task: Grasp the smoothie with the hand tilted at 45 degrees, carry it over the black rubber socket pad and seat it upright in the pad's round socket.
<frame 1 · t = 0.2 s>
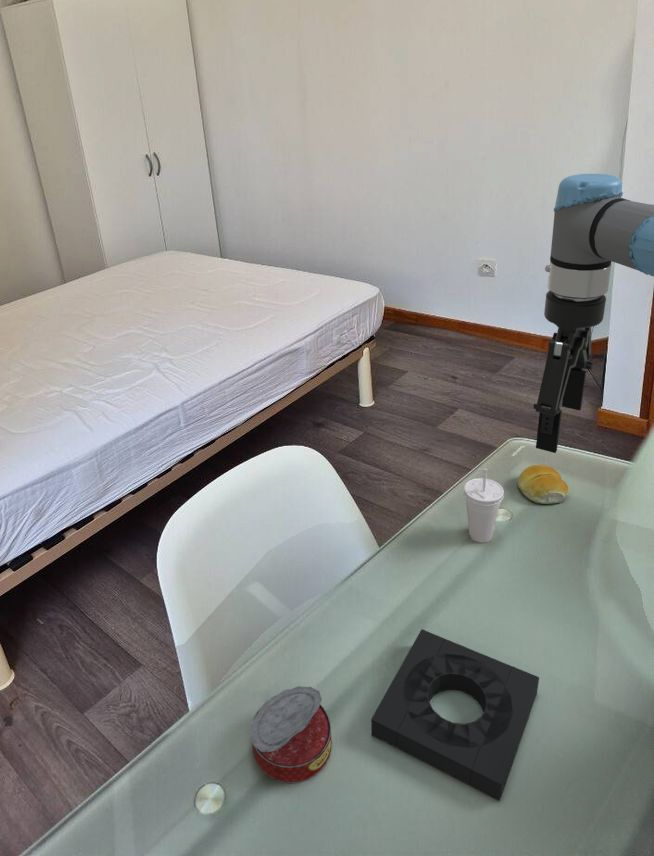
hand: (559, 427, 102), 24 cm above the table, tool pointing down, fingers open, 13 cm apart
bread roll: (542, 491, 126), on the table
socket pad: (455, 713, 88), on the table
canned food: (291, 745, 86), on the table
smoothie: (480, 536, 117), on the table
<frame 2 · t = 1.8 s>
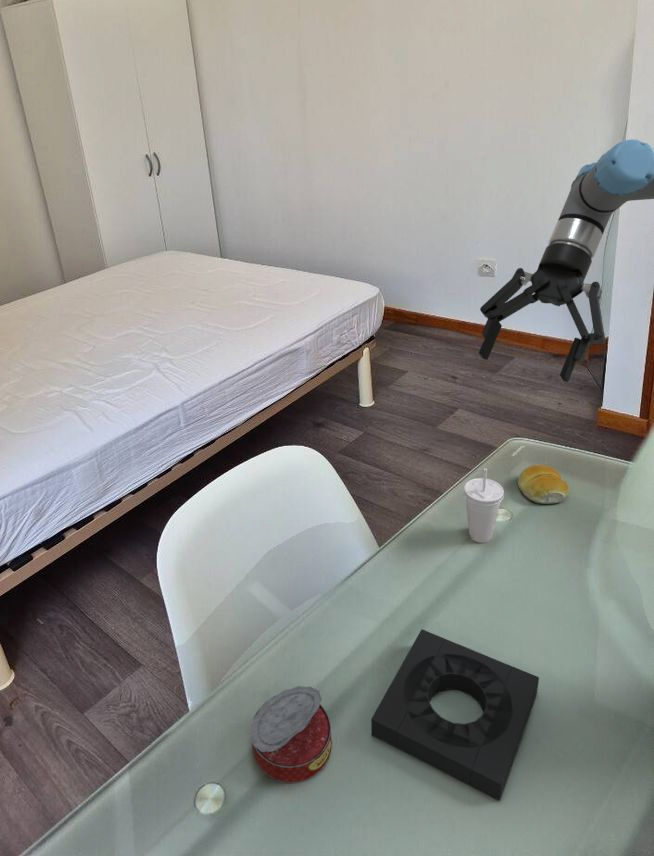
hand: (521, 367, 111), 28 cm above the table, tool tilted 45°, fingers open, 13 cm apart
nothing on the table moved.
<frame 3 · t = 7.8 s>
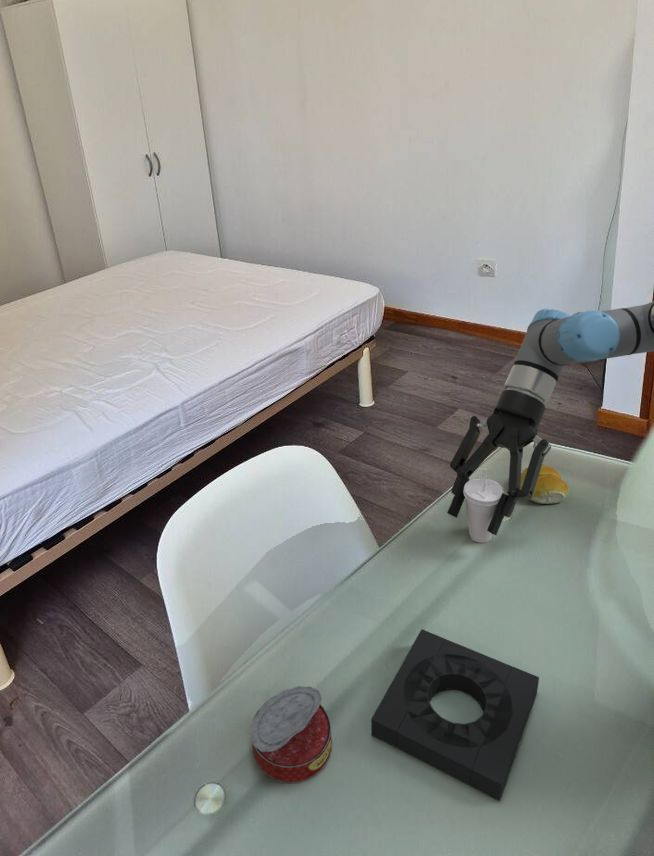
hand: (471, 523, 112), 5 cm above the table, tool tilted 45°, fingers closed on smoothie, 6 cm apart
smoothie: (480, 536, 117), on the table, touching gripper
everything else where it was.
when the fingers open (5 cm above the table, at t = 19.7 s): smoothie stays where it is, resting in socket pad.
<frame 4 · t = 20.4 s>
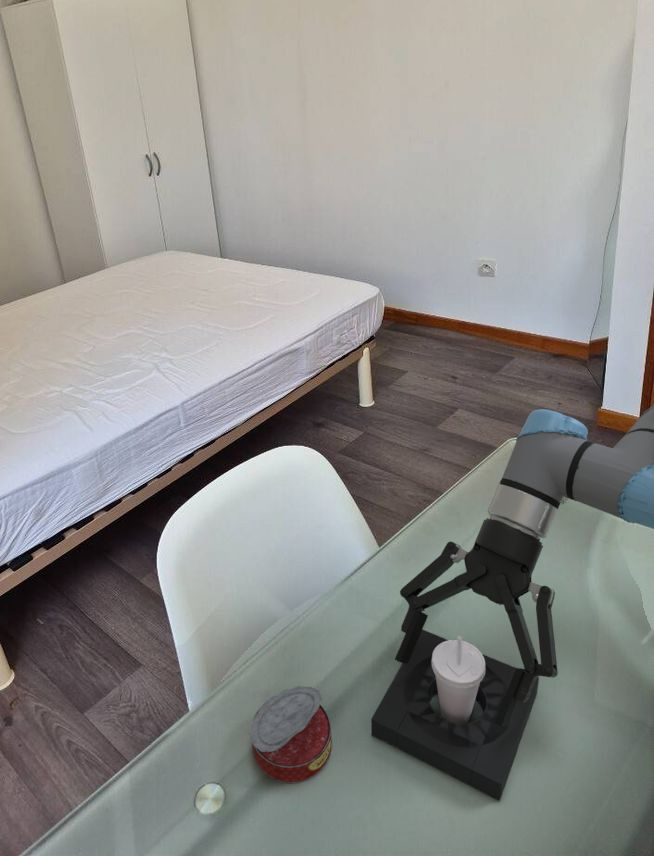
hand: (448, 691, 83), 6 cm above the table, tool tilted 45°, fingers open, 13 cm apart
smoothie: (455, 714, 88), resting in socket pad
everything else where it was.
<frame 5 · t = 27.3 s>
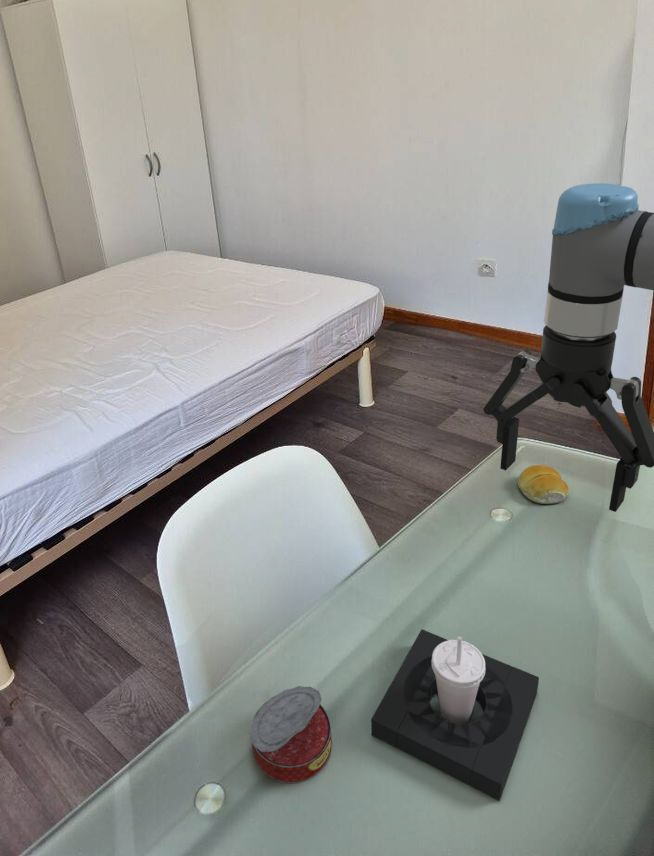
hand: (559, 484, 85), 27 cm above the table, tool pointing down, fingers open, 13 cm apart
nothing on the table moved.
at the end: smoothie 0.1 cm off-centre in the socket pad, point 0.0 cm above the socket pad's base; smoothie tilted 0°; the gripper is holding nothing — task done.
